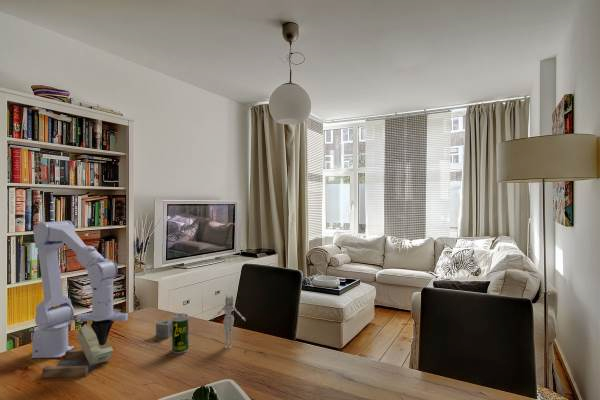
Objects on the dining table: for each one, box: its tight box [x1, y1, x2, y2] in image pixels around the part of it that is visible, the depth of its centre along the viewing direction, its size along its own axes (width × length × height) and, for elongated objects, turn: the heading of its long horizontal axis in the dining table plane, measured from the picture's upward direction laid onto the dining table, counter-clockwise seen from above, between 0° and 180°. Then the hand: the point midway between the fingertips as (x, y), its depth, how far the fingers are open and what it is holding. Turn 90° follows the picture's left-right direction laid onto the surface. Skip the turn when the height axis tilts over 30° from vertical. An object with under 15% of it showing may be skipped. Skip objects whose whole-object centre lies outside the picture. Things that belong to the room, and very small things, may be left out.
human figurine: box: [212, 294, 246, 349], centre depth 129 cm, size 12×4×18 cm, turn 83°
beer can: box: [171, 313, 190, 355], centre depth 125 cm, size 5×5×12 cm
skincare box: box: [76, 324, 114, 366], centre depth 117 cm, size 6×4×12 cm
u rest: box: [42, 348, 100, 378], centre depth 113 cm, size 12×13×2 cm
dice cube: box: [155, 319, 172, 339], centre depth 138 cm, size 5×5×5 cm
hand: (102, 343), depth 114 cm, fingers closed
